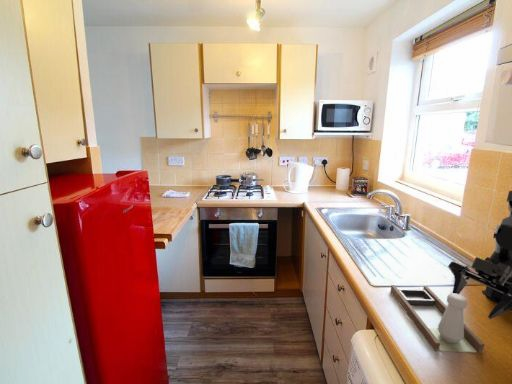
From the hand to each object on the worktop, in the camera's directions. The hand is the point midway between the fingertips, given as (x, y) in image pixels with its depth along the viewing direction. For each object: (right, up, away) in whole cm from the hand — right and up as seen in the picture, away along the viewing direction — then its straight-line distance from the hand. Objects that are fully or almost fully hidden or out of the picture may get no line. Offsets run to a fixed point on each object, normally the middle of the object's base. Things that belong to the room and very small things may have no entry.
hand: (470, 307), depth 76 cm
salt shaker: (-6, -8, -1) cm, 10 cm away
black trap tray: (-6, -4, +16) cm, 17 cm away
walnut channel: (-6, -6, +8) cm, 12 cm away
